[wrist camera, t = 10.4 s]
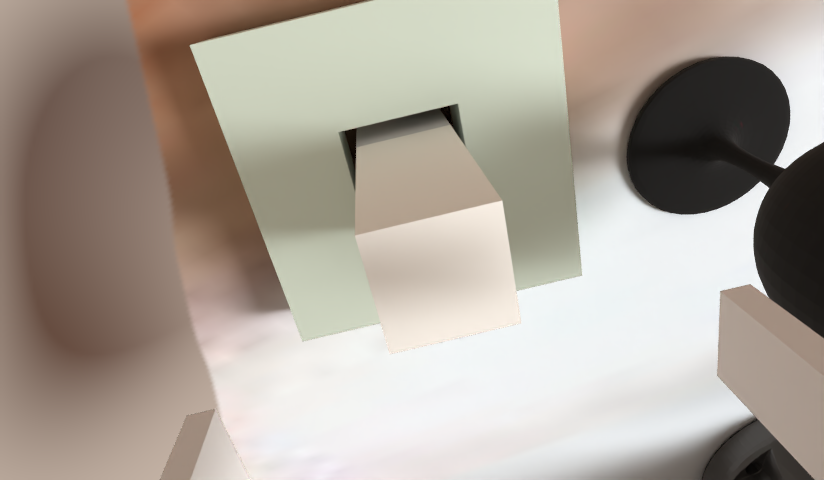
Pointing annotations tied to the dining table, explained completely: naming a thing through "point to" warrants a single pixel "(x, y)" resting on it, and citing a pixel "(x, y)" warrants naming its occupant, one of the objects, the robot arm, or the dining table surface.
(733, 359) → the robot arm
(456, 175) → the plug
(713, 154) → the wine glass
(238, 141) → the socket plate
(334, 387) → the dining table surface
